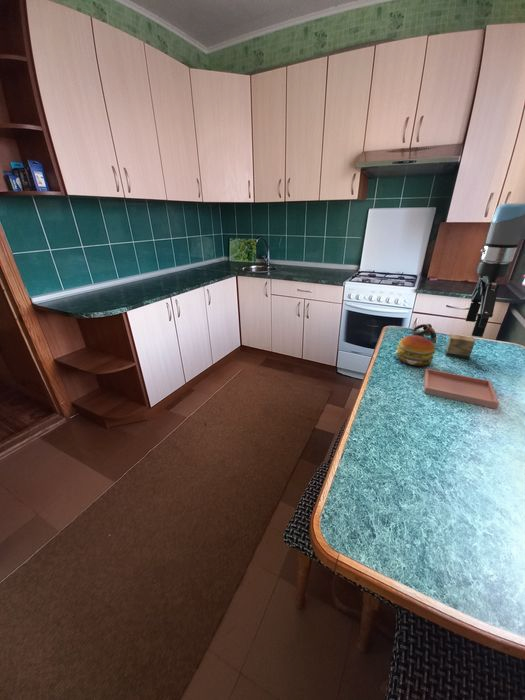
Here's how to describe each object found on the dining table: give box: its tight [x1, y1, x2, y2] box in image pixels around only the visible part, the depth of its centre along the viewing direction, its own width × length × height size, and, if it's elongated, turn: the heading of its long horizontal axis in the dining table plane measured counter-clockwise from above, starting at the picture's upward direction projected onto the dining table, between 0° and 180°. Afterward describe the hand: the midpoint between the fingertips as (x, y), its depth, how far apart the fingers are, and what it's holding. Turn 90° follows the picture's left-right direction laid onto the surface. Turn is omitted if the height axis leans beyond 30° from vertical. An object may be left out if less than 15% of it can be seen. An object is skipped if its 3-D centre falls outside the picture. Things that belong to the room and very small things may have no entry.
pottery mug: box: [411, 323, 437, 344], centre depth 132 cm, size 12×10×8 cm
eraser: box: [444, 333, 476, 361], centre depth 117 cm, size 8×4×8 cm, turn 63°
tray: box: [423, 368, 500, 410], centre depth 97 cm, size 20×14×2 cm
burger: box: [394, 335, 436, 367], centre depth 113 cm, size 14×14×10 cm
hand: (473, 328), depth 95 cm, fingers open, 13 cm apart
